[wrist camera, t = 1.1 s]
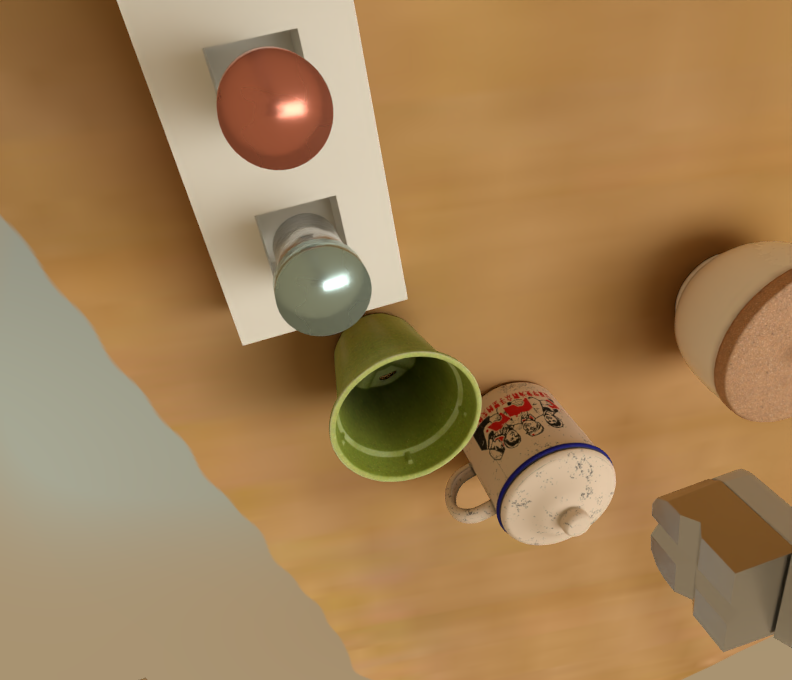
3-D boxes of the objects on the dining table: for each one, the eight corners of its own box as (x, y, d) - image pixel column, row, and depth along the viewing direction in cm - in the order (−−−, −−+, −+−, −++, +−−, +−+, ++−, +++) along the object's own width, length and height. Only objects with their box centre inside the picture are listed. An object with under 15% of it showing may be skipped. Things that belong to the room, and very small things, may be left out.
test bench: (48, -229, 25) (17, -272, 21) (283, -263, 27) (296, -311, 22) (239, 307, 39) (242, 345, 35) (387, 267, 40) (407, 299, 36)
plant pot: (285, 329, 41) (301, 403, 33) (410, 265, 41) (453, 325, 34) (344, 423, 46) (369, 504, 39) (454, 366, 46) (500, 437, 39)
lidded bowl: (643, 249, 45) (755, 315, 36) (791, 196, 46) (936, 248, 37) (645, 379, 52) (739, 464, 43) (774, 331, 53) (892, 402, 44)
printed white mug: (543, 358, 48) (629, 453, 38) (568, 435, 53) (649, 536, 43) (407, 426, 48) (458, 539, 38) (445, 497, 53) (498, 612, 43)
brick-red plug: (202, 49, 27) (200, 63, 22) (298, 28, 27) (318, 37, 22) (232, 147, 29) (237, 181, 24) (320, 127, 30) (344, 155, 25)
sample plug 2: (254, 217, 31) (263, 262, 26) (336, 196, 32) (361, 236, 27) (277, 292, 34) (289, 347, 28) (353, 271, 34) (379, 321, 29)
